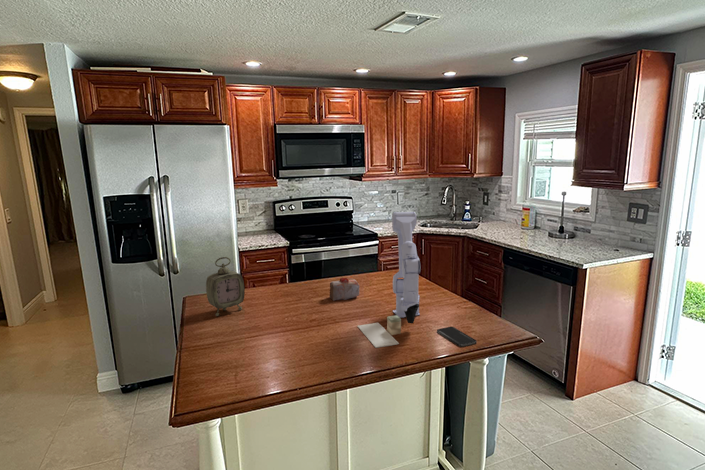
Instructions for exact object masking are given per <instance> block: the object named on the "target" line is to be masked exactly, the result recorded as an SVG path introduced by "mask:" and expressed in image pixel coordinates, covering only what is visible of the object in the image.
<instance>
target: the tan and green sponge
mask: <svg viewBox="0 0 705 470" xmlns="http://www.w3.org/2000/svg"><path fill="white" fill-rule="evenodd" d="M386 324H387V325H386V331H387V332H388V333H389V334H390V335H391V336H396V335H401V334H402V319H401V318H400V317H399V316H397V315H396V314H394V315H389V316H387V317H386Z"/></svg>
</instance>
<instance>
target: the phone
mask: <svg viewBox="0 0 705 470" xmlns="http://www.w3.org/2000/svg"><path fill="white" fill-rule="evenodd" d="M436 332H437V334H439V335H440V336H442V337H444V338H445V339H447V340H448V341H449V342H451V343H452V344H454V345H456V346H457V347H459V348H465V347H469V346H472V345H476V344H477V341H478V340H477V339H474V338H473V337H471V336H470V335H468V334H466V333H465V332H464V331H463V332H462V331H461V330H459V328H458V329H457V328H456V327H454V326H448V327H447V326H446V327H443V328H437V329H436Z"/></svg>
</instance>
